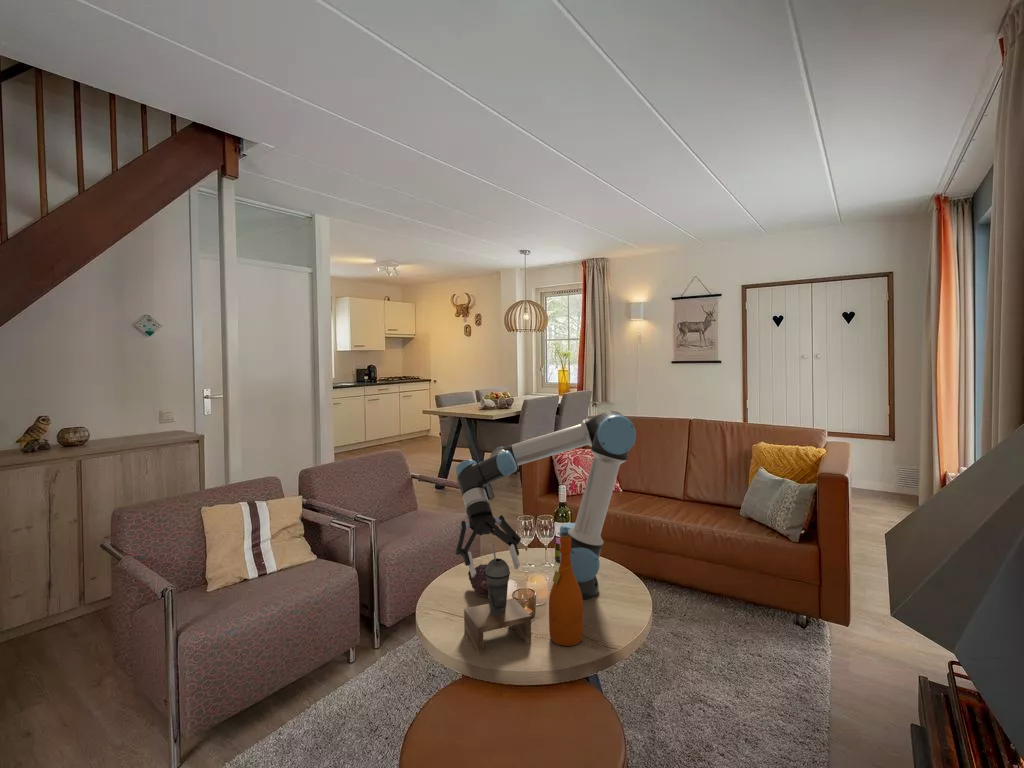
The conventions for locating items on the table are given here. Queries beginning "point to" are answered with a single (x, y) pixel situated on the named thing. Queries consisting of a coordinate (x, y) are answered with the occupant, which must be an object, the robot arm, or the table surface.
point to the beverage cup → (497, 585)
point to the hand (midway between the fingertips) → (496, 571)
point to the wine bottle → (565, 601)
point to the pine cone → (479, 580)
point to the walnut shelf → (495, 622)
